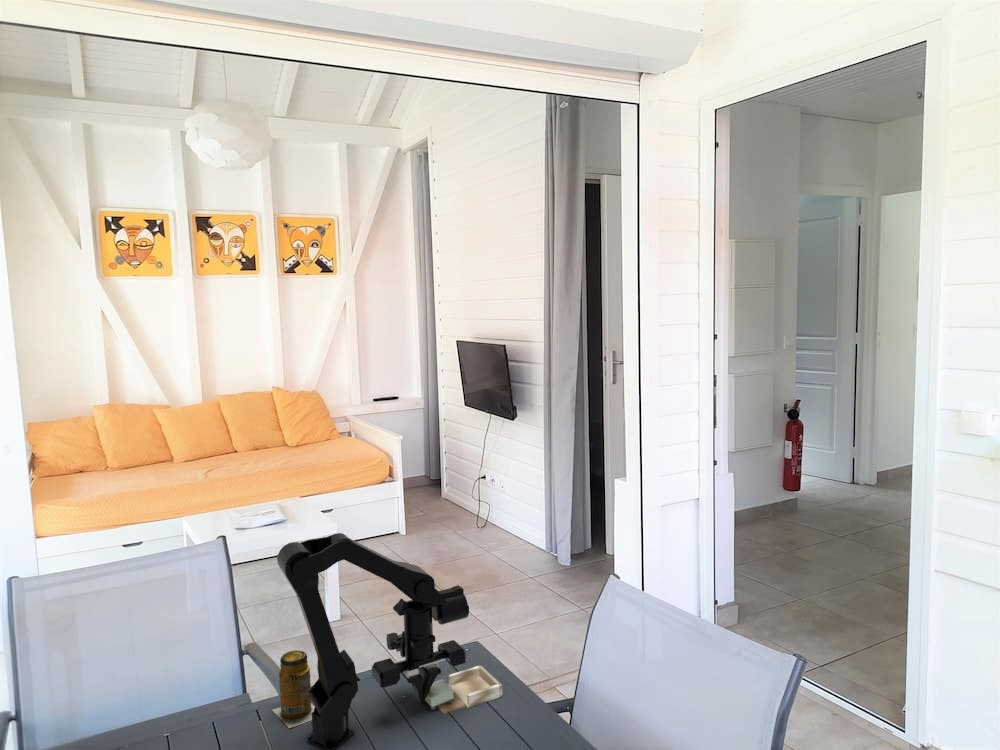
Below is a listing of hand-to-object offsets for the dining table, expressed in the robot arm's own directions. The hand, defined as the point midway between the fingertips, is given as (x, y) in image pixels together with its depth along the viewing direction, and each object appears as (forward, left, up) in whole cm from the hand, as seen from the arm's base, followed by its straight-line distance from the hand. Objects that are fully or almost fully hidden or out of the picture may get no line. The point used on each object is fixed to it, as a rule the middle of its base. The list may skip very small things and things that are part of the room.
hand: (421, 702), depth 148 cm
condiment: (-13, +21, -2) cm, 25 cm away
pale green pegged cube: (+3, -2, -1) cm, 4 cm away
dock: (+8, -5, -2) cm, 10 cm away
